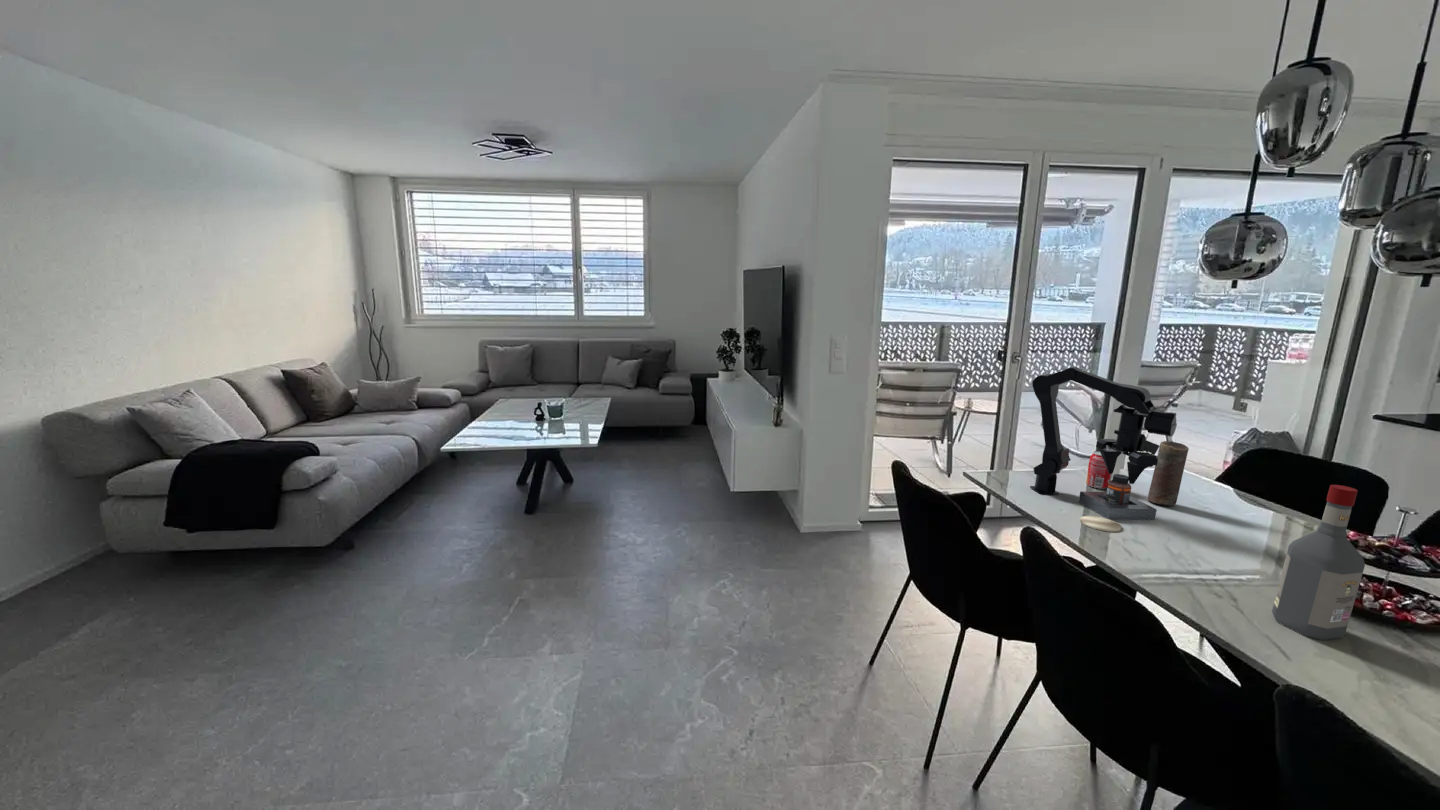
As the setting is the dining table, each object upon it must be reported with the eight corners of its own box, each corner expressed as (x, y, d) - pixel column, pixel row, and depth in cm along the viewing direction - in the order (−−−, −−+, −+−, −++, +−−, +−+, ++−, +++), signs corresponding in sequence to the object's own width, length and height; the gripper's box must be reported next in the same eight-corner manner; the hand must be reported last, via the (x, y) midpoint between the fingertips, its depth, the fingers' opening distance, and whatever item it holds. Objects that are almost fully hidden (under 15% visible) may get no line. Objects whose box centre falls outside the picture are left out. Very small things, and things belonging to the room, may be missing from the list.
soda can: (1102, 483, 201) (1108, 451, 199) (1113, 490, 194) (1119, 457, 192) (1081, 482, 202) (1086, 450, 199) (1091, 489, 195) (1097, 455, 192)
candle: (1175, 503, 185) (1187, 443, 180) (1178, 510, 179) (1190, 448, 174) (1146, 497, 189) (1157, 439, 184) (1147, 504, 183) (1159, 444, 178)
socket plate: (1078, 501, 183) (1080, 491, 182) (1121, 502, 183) (1123, 492, 183) (1108, 519, 169) (1110, 508, 169) (1154, 520, 170) (1156, 509, 169)
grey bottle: (1350, 638, 113) (1392, 495, 107) (1316, 642, 111) (1356, 497, 105) (1296, 612, 122) (1332, 479, 116) (1263, 616, 120) (1298, 480, 114)
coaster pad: (1072, 517, 170) (1073, 515, 170) (1105, 518, 170) (1106, 516, 170) (1094, 531, 160) (1094, 529, 160) (1129, 532, 161) (1130, 530, 160)
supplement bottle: (1128, 511, 177) (1135, 476, 174) (1125, 516, 172) (1131, 480, 170) (1105, 505, 181) (1111, 471, 178) (1101, 510, 176) (1108, 475, 174)
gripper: (1181, 438, 162) (1170, 490, 165) (1134, 422, 180) (1125, 469, 184) (1142, 437, 162) (1132, 489, 165) (1099, 421, 180) (1090, 468, 183)
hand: (1120, 478), depth 174 cm, fingers open, 9 cm apart
